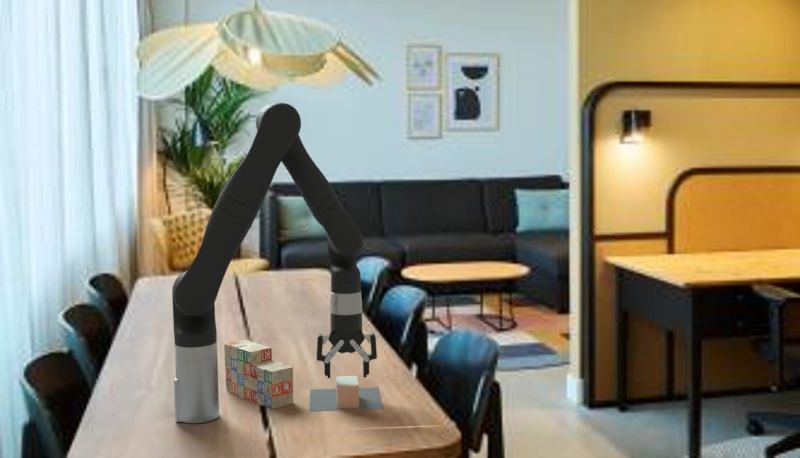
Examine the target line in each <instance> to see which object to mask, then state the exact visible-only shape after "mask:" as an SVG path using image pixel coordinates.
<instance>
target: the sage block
mask: <svg viewBox="0 0 800 458" xmlns="http://www.w3.org/2000/svg"><path fill="white" fill-rule="evenodd" d="M335 381H336V382H335V383H336V388H335V389H336V390H337V407H338V408H359V388H360V385H359V380H358V376H357V375H349V376H347V375H346V376H345V375H344V376H343V375H342V376H336V377H335Z"/></svg>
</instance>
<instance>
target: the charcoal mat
mask: <svg viewBox="0 0 800 458" xmlns="http://www.w3.org/2000/svg"><path fill="white" fill-rule="evenodd" d="M357 410H359V411H360V410H362V411H363V410H365V411H366V410H384V406H383V401H382V397H381V393H380V388H379V387H378V386H374V387H373V386H372V387H359V408H338V407H337V390H336V388H320V389H319V388H318V389H310V391H309V412H311V413H312V412H333V411H335V412H336V411H338V412H339V411H357Z"/></svg>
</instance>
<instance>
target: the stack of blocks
mask: <svg viewBox="0 0 800 458" xmlns="http://www.w3.org/2000/svg"><path fill="white" fill-rule="evenodd" d="M223 346H224V348H223V349H224V367H225V370H224V371H225V390H226V392H228V393H231V394H232V395H235V396H238V397H240V398H242V399H245V400H248V401H251V402H253V403H254V404H257V405H260V406H262V407H263V406H264V407H267V408H270V409H275V408H280V407H283V406H287V405H292V404H293V403H294V367H293V366H290V365H288V364H286V363H282V362H280V361H277V360H273V355H272V347H270V346H266V345H264V344H260V343H256V342H254V341H252V340H247V339H241V340H237V341H231V342H227V343H223Z"/></svg>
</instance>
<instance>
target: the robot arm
mask: <svg viewBox="0 0 800 458" xmlns="http://www.w3.org/2000/svg"><path fill="white" fill-rule="evenodd" d="M255 126H256V134H255V136H254V139H253V141H252V143H251V146H250V148H249V149H248V152H247V154H246V156H245V157H244V158H243V160H242V161H241V162H240V164H238V166H237V168H236V169H235V170H234V172H233V173H232V175H231V176H230V177H229V179H228V181H226V184H225V185H224V186H223V189H221V193H220V194H219V196H218V198H217V200H216V202H215V204H214V206H213V208H212V211H211V212H210V215H209V219H208V222H207V224H206V227H205V231H204V233H203V237H202V242H201V243H200V246H199V249H198V251H197V253H196V255H195V257H194V259H193V261H192V262H191V264H190V265H189V267H188V268H187V270H186V271H184V272H182V273H181V274H179V275H178V276H177V278H176V279H175V280H174V282H173V284H172V291H171V292H172V293H171V294H172V295H171V296H172V297H171V299H172V317H173V321H172V322H173V336H174V337H173V338H174V355H175V358H174V359H175V363H174V364H175V378H174V381H173V386H174V412H175V423H176V422H177V423H178V422H180V423H186V424H201V423H208V422H211V421H214V420H216V419H218V418H219V417H220V403H219V402H220V399H219V397H220V396H219V395H220V394H219V393H220V390H219V365H218V362H219V361H218V342H217V341H218V337H217V336H218V335H217V334H218V332H217V322H216V307H215V306H216V305H215V302H216V300H217V297H218V294H219V291H220V288H221V286H222V283H223V281H224V279H225V276H226V273H227V271H228V269H229V265H230V264H231V262H232V260H233V259H234V257H235V255H236V254H237V252H238V250H239V248H240V247H241V245H242V244H243V243H244V242H243V241H244V240H245V238H246V236H247V235H248V234H249V233H248V232H249V231H250V229H251V228H252V225H253V224H254V222H255V220H256V217H257V216H258V214H259V211H260V210H261V207H262V204H263V203H264V200H265V198H266V197H267V194H268V191H269V189H270V187H271V184H272V183H273V182H272V181H273V179H274V177H275V175H276V172H277V170H278V168H279V166H280V164H281V163H282V164H283V166H284V168H285V169H286V170H287V172H288V174H289V176H290V177H291V178H292V181H293V182H294V184H295V186H296V188H297V189H298V191H299V193H300V196H302V200H304V203H305V204H306V205H307V208H308V209H309V211H310V212H311V214H312V216H313V218H314V219H315V220H316V222H317V223H318V224H319V225H320V226H321V227H323V229H324V231H325V233H326V234H327V254H328V255H327V256H328V261H329V267H330V273H331V274H330V275H331V276H330V305H329V309H330V311H329V313H330V314H329V315H330V319H329V321H330V333H329V335H328V334H327V335H325V334H322V333H319V334H317V340H316V341H317V344H316V345H317V346H316V360H317V361H318V362H319V361H320V362H322V363H323V365H324V376H325V377H327V379H331V360H332V359H333V358H334V357H335V356H336V354H337V353H339V354H345V353H349V354H353V353H355V352H356V353H357V354H358V355H359V356H360V357H361V359H363V360H362V374H363V375H362V377H363V378H367V376H369V375H370V362H371V361H373V360H377V358H378V352H377V350H378V349H377V337H376V333H374V332H370V333H366V334H364V332H363V298H362V284H361V283H362V281H361V280H362V278H361V277H362V276H361V275H362V274H361V270H360V268H359V267H358V265H357V256H359V254H361V252H362V250H363V247H364V238H363V235H362V233H361V231H360V229H359V228H358V226H357V225H356V224H355V222H354V221H353V219H352V218H351V217H350V215H349V213H347V211H346V210H345V208H344V207H343V205H342V202H341V201H340V199H339V197H338V195H337V194H336V192H335V190H334V189H333V186H332V184H331V183H330V182H329V180H328V179H327V178H326V176H325V175H324V174H323V172H322V170H320V168H319V167H318V165H317V164H316V163H315V162H314V160H313V159H312V158H311V155H310V153H308V151H307V149H306V148H305V145H304V144H303V141H302V139H301V137H300V135H299V133H300V131H301V127H302V119H301V116H300V114H299V111H298V110H297V109H296V108H295V107H294V106H292V105H291V104H289V103H285V102H275V103H274V102H273V103H270V104H267V105H264V107H262V108H261V109H260V111H258V113H257V115H256V118H255ZM365 340H366V342H367V343H368V344H370V353H369V354H368V353H367V352H366V351H365V349H364V348H363V347H362V343H363V342H364V341H365ZM327 341H328V342H329V343H330V344H331V345H332V346H331V347H330V349H329V351H327V354H326V355H325V354H323V346H324V345H326V344H327Z"/></svg>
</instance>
